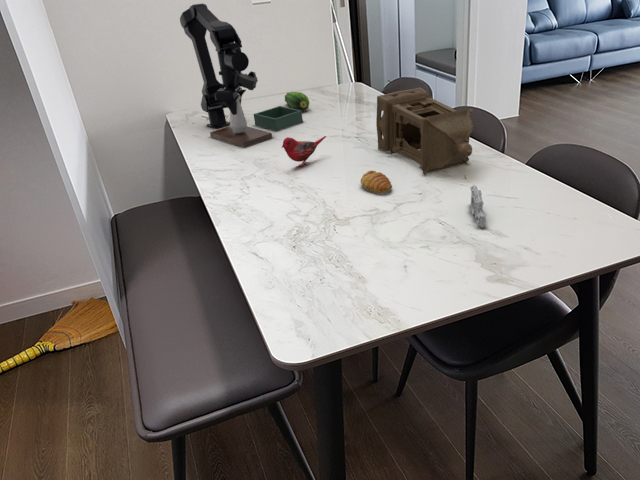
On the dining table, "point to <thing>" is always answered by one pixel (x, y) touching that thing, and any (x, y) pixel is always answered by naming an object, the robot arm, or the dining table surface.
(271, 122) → the green square tray
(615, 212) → the dining table surface
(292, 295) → the dining table surface
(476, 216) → the garden wall model
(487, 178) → the dining table surface
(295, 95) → the vegetable
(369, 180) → the pastry
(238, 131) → the salt shaker
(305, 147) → the decorative bird figurine
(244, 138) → the serving board
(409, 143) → the brown lantern
